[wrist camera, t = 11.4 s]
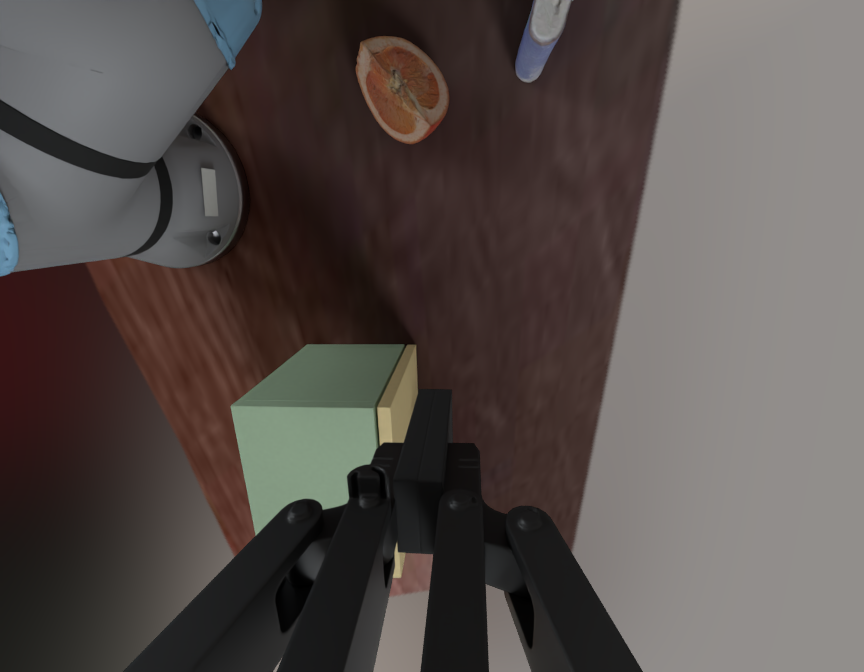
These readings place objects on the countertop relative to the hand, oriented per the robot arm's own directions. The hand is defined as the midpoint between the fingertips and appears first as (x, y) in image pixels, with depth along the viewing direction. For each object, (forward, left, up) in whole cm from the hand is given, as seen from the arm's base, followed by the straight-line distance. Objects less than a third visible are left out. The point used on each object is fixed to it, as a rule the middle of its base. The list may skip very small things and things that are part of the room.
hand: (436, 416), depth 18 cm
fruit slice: (-4, +19, -25) cm, 31 cm away
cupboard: (-11, -13, -24) cm, 30 cm away
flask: (+8, +24, -25) cm, 35 cm away
